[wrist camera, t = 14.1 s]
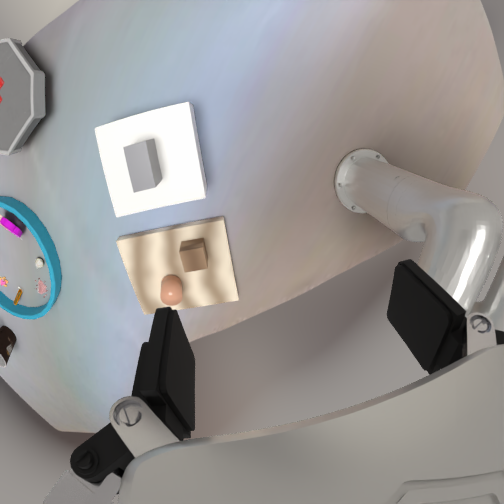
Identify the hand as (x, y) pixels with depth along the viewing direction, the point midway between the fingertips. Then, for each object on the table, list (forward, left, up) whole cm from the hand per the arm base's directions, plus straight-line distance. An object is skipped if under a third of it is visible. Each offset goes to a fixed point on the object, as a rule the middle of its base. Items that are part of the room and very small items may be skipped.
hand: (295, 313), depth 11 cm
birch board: (+13, +18, -38) cm, 44 cm away
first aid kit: (+40, -26, -39) cm, 61 cm away
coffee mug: (+73, +29, -38) cm, 87 cm away
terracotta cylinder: (+15, +20, -36) cm, 44 cm away
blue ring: (+54, +8, -39) cm, 67 cm away
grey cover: (+12, -4, -38) cm, 40 cm away
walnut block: (+9, +14, -36) cm, 40 cm away
